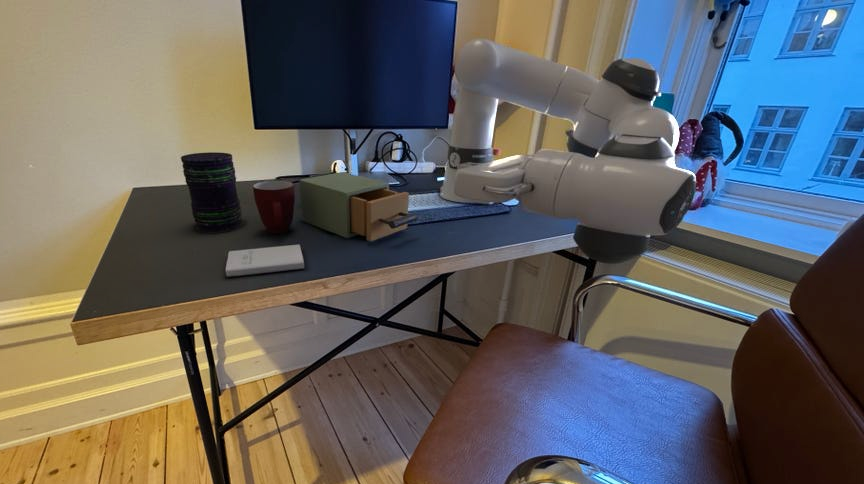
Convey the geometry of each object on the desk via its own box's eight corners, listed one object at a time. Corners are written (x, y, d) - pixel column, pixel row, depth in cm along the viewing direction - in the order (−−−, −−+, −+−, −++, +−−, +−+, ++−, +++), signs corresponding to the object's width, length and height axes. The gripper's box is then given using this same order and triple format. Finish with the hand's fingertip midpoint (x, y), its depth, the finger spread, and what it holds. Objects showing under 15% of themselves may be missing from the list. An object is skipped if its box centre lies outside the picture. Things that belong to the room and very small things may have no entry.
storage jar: (185, 227, 80) (169, 157, 73) (222, 215, 88) (210, 150, 81) (217, 236, 76) (202, 162, 69) (252, 222, 84) (243, 155, 77)
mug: (305, 238, 76) (301, 190, 71) (265, 244, 72) (258, 194, 68) (292, 223, 84) (288, 179, 80) (256, 227, 81) (249, 182, 76)
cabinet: (388, 224, 84) (389, 182, 80) (347, 238, 76) (346, 192, 72) (343, 209, 94) (341, 171, 90) (302, 220, 85) (299, 179, 81)
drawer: (423, 233, 77) (425, 196, 74) (386, 247, 70) (387, 208, 66) (361, 213, 89) (360, 181, 85) (324, 224, 81) (322, 189, 78)
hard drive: (304, 270, 63) (226, 278, 59) (300, 251, 70) (230, 257, 66) (303, 261, 62) (224, 269, 59) (299, 243, 69) (228, 249, 66)
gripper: (509, 220, 46) (421, 199, 54) (565, 192, 60) (488, 178, 68) (518, 169, 43) (424, 155, 52) (575, 152, 57) (493, 143, 65)
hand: (461, 168), depth 60 cm, fingers closed
